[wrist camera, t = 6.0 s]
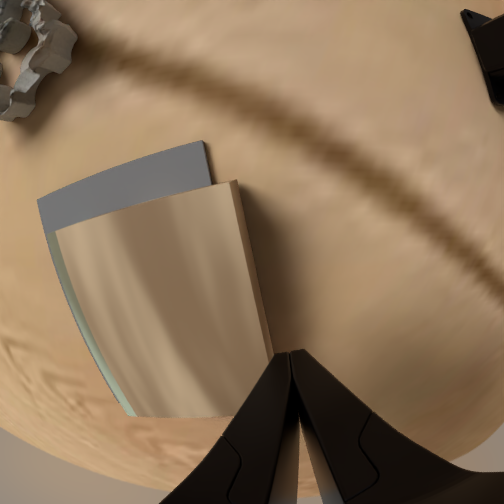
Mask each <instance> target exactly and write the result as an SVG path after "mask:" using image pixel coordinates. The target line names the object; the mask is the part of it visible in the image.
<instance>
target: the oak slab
mask: <svg viewBox="0 0 504 504" xmlns="http://www.w3.org/2000/svg"><path fill="white" fill-rule="evenodd" d="M46 235H47V238H48V242H49V246H50V249H51V252H52V256H53V259H54V262H55V265H56V268H57V271H58V274H59V277H60V280H61V282H62V285H63V288H64V291H65V293H66V296H67V298H68V301H69V304H70V306H71V308H72V311H73V313H74V316H75V318H76V320H77V323H78V325H79V327H80V329H81V332H82V334H83V336H84V338H85V340H86V342H87V344H88V346H89V348H90V350H91V352H92V354H93V356H94V358H95V360H96V362H97V364H98V366H99V368H100V370H101V371H102V373H103V375H104V377H105V379H106V380H107V382H108V384H109V386H110V387H111V389H112V391H113V392H114V394H115V396H116V397H117V399H118V401H119V402H120V404H121V405H122V407H123V409H124V410H125V412H126V413H127V415H128V416H138V417H158V418H203V417H224V416H235V415H236V413H237V412H238V410H239V409H240V407H241V406H242V404H243V403H244V401H245V400H246V398H247V397H248V395H249V394H250V392H251V391H252V389H253V387H254V386H255V384H256V383H257V381H258V380H259V378H260V376H261V375H262V373H263V372H264V370H265V368H266V367H267V365H268V363H269V362H270V360H271V359H272V357H273V355H274V353H273V348H272V343H271V339H270V334H269V329H268V324H267V320H266V315H265V310H264V305H263V301H262V296H261V291H260V286H259V282H258V277H257V272H256V267H255V263H254V258H253V253H252V249H251V244H250V239H249V234H248V230H247V225H246V220H245V215H244V211H243V206H242V201H241V196H240V192H239V187H238V182H237V180H232V181H228V182H223V183H219V184H214V185H210V186H205V187H201V188H197V189H193V190H189V191H185V192H181V193H177V194H173V195H169V196H165V197H161V198H157V199H154V200H150V201H146V202H143V203H139V204H136V205H132V206H129V207H125V208H122V209H119V210H115V211H112V212H109V213H105V214H102V215H99V216H96V217H93V218H90V219H87V220H84V221H81V222H78V223H75V224H72V225H70V226H67V227H64V228H62V229H59V230H56V231H54V232H51V233H48V234H46Z"/></svg>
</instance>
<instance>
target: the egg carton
mask: <svg viewBox="0 0 504 504" xmlns="http://www.w3.org/2000/svg"><path fill="white" fill-rule="evenodd" d="M24 8H27V9H29V11H31V12H32V17H31V19H30V24H29V25H27V24H25V23H23V22H20V21H19V20H20V19H21V16H22V10H23V9H24ZM61 15H62V14H61V13H59V12H58V11H57V10H56V9H55V8H54V7H53V6H52V5H51V4H50V3H48V2H47V0H0V51H3V52H6V53H10V54H15V53H17V52H19V51H20V50H21V49H22V48H23V47H24V46H25V44H26V43H27V41H28V39H29V37H30V35H31V26H32V27H33V28H34V30H35V32H36V33H37V35H38V38H39V41H38V45H37V46H36V47H34V48H32V49H31V50H30V51H29V52H28V53H27V54H26V56H25V57H24V59H23V61H22V64H21V68H20V72H21V74H20V75H19V77H18V79H17V81H16V83H15V85H14V90H13V89H12V88H11V87H10V86H6V85H1V84H0V120H3V121H13V120H14V119H15V118H16V117H22V118H25V117H27V116H28V115H29V114H30V113H31V111H32V110H33V109H34V108H35V106H36V104H35V93H36V89H37V87H38V85H39V83H40V82H41V80H42V79H43V78H44V77H45V76H46V75H47V74H49V73H51V72H56V73H59V74H61V73H62V72H63V71H64V70H65V69H66V68H67V67H68V66H69V65H70V63H71V62H72V59H71V51H72V48H73V45H74V43H75V42H76V40H77V34H76V33H75V32H74V31H73V30H72V29H71V27H70V26H69V25H68V24H67V25H66V24H64V23H62V22H60V21H58V19H59V17H60V16H61ZM2 69H3V68H2V63H0V77H1V74H2Z"/></svg>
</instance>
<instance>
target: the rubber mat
mask: <svg viewBox="0 0 504 504" xmlns="http://www.w3.org/2000/svg"><path fill="white" fill-rule="evenodd" d="M210 185H213V184H212V180H211V175H210V171H209V166H208V161H207V156H206V152H205V147H204V142H203V141H202V140H201V141H197V142H193V143H189V144H186V145H182V146H178V147H175V148H171V149H168V150H165V151H161V152H158V153H155V154H152V155H148V156H145V157H142V158H139V159H136V160H133V161H130V162H127V163H124V164H122V165H119V166H116V167H113V168H110V169H108V170H105V171H102V172H100V173H97V174H95V175H92V176H90V177H87V178H85V179H82V180H80V181H77V182H75V183H73V184H70V185H68V186H66V187H63V188H61V189H59V190H57V191H54V192H52V193H50V194H48V195H46V196H44V197H42V198H39V199H37V203H38V208H39V212H40V217H41V221H42V225H43V229H44V233H45V236H46V240H47V243H48V247H49V250H50V254H51V257H52V260H53V263H54V266H55V269H56V272H57V275H58V278H59V281H60V284H61V286H62V289H63V292H64V294H65V297H66V300H67V302H68V305H69V307H70V309H71V312H72V314H73V317H74V319H75V321H76V323H77V320H76V318H75V316H74V313H73V311H72V308H71V306H70V304H69V301H68V298H67V296H66V293H65V291H64V288H63V285H62V282H61V280H60V277H59V274H58V271H57V268H56V265H55V262H54V259H53V256H52V252H51V249H50V246H49V242H48V238H47V235H46V234H48V233H51V232H54V231H56V230H59V229H62V228H64V227H67V226H70V225H72V224H75V223H78V222H81V221H84V220H87V219H90V218H93V217H96V216H99V215H102V214H105V213H109V212H112V211H115V210H119V209H122V208H125V207H129V206H132V205H136V204H139V203H143V202H146V201H150V200H154V199H157V198H161V197H165V196H169V195H173V194H177V193H181V192H185V191H189V190H193V189H197V188H201V187H205V186H210ZM77 326H78V328H79V330H80V332H81V329H80V327H79V325H78V323H77ZM81 335H82V337H83V339H84V341H85V343H86V345H87V347H88V349H89V351H90V353H91V355H92V357H93V359H94V361H95V363H96V365H97V367H98V368H99V366H98V364H97V362H96V360H95V358H94V356H93V354H92V352H91V350H90V348H89V346H88V344H87V342H86V340H85V338H84V336H83V334H82V332H81ZM99 370H100V368H99ZM100 372H101V374H102V376H103V377H104V375H103V373H102V371H101V370H100ZM104 379H105V377H104ZM105 381H106V383H107V385H108V386H109V384H108V382H107V380H106V379H105ZM109 388H110V390H111V391H112V389H111V387H110V386H109ZM112 393H113V395H114V396H115V394H114V392H113V391H112ZM115 398H116V400H117V401H118V399H117V397H116V396H115ZM118 403H120V402H119V401H118Z"/></svg>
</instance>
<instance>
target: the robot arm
mask: <svg viewBox="0 0 504 504" xmlns="http://www.w3.org/2000/svg"><path fill="white" fill-rule="evenodd" d="M460 14H461V17H462V19H463V21H464V23H465V25H466V28H467V30H468V32H469V35H470V37H471V40H472V42H473V45H474V47H475V50H476V53H477V55H478V58H479V61H480V64H481V67H482V70H483V73H484V77H485V80H486V84H487V87H488V91H489V95H490V98H491V100H492V102H493V103H494V104H496V105H500V106H504V14H502V15H500V16H498V17H496V18H494V19H491V18H489V17H486V16H484V15H481V14H478V13H476V12H473V11H470V10H468V9H464V10H462V11H461V12H460ZM298 412H299V413H298ZM299 419H300V422H299ZM300 424H301V428H302V432H303V435H304V439H305V442H306V446H307V449H308V453H309V456H310V460H311V463H312V467H313V470H314V474H315V477H316V481H317V484H318V488H319V491H320V495H321V498H322V501H323V504H504V472H474V471H470V470H465V469H462V468H460V467H458V466H456V465H454V464H452V463H450V462H448V461H446V460H444V459H443V458H441V457H439V456H437V455H436V454H434V453H432V452H430V451H429V450H427V449H425V448H424V447H422V446H420V445H418V444H417V443H415V442H414V441H412V440H410V439H409V438H407V437H406V436H404V435H403V434H401V433H400V432H398V431H397V430H396V429H394V428H393V427H392V426H391V425H389V424H388V423H387V422H385V421H384V420H383V419H382V418H381V417H380V416H378V415H377V414H376V413H375V412H372V410H371V409H370V408H369V407H368V406H367V405H366V404H365V403H363V402H362V401H361V400H360V399H359V398H358V397H357V396H355V395H354V394H353V393H352V392H351V391H350V390H349V389H348V388H347V387H345V386H344V385H343V384H342V383H341V382H340V381H339V380H338V379H337V378H335V377H334V376H333V375H332V374H331V373H330V372H329V371H328V370H327V369H326V368H324V367H323V366H322V365H321V364H320V363H319V362H318V361H317V360H316V359H315V358H314V357H312V356H311V355H310V354H309V353H308V352H307V351H306V350H305V349H299V350H294V351H291V352H290V354H289V352H282V353H276V354H274V355H273V357H272V359H271V360H270V362H269V363H268V365H267V367H266V368H265V370H264V372H263V373H262V375H261V376H260V378H259V380H258V381H257V383H256V384H255V386H254V387H253V389H252V391H251V392H250V394H249V395H248V397H247V398H246V400H245V401H244V403H243V404H242V406H241V407H240V409H239V410H238V412H237V413H236V415H235V416H234V418H233V419H232V421H231V422H230V424H229V425H228V427H227V428H226V429H225V431H224V432H223V434H222V435H223V436H220V438H219V439H218V441H217V442H216V443H215V445H214V446H213V448H212V449H211V450H210V451H209V453H208V454H207V455H206V456H205V458H204V459H203V460H202V461H201V463H200V464H199V465H198V466H197V467H196V468H195V469H194V470H193V471H192V472H191V473H190V474H189V475H188V476H187V477H186V478H185V479H184V480H183V481H182V482H181V483H180V484H179V485H178V486H177V487H176V488H175V489H174V490H173V491H172V492H171V493H170V494H169V495H168V496H166V497H165V498H164V499H163V500H162V501H161V502H160V503H159V504H297V489H298V468H299V439H300Z"/></svg>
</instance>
